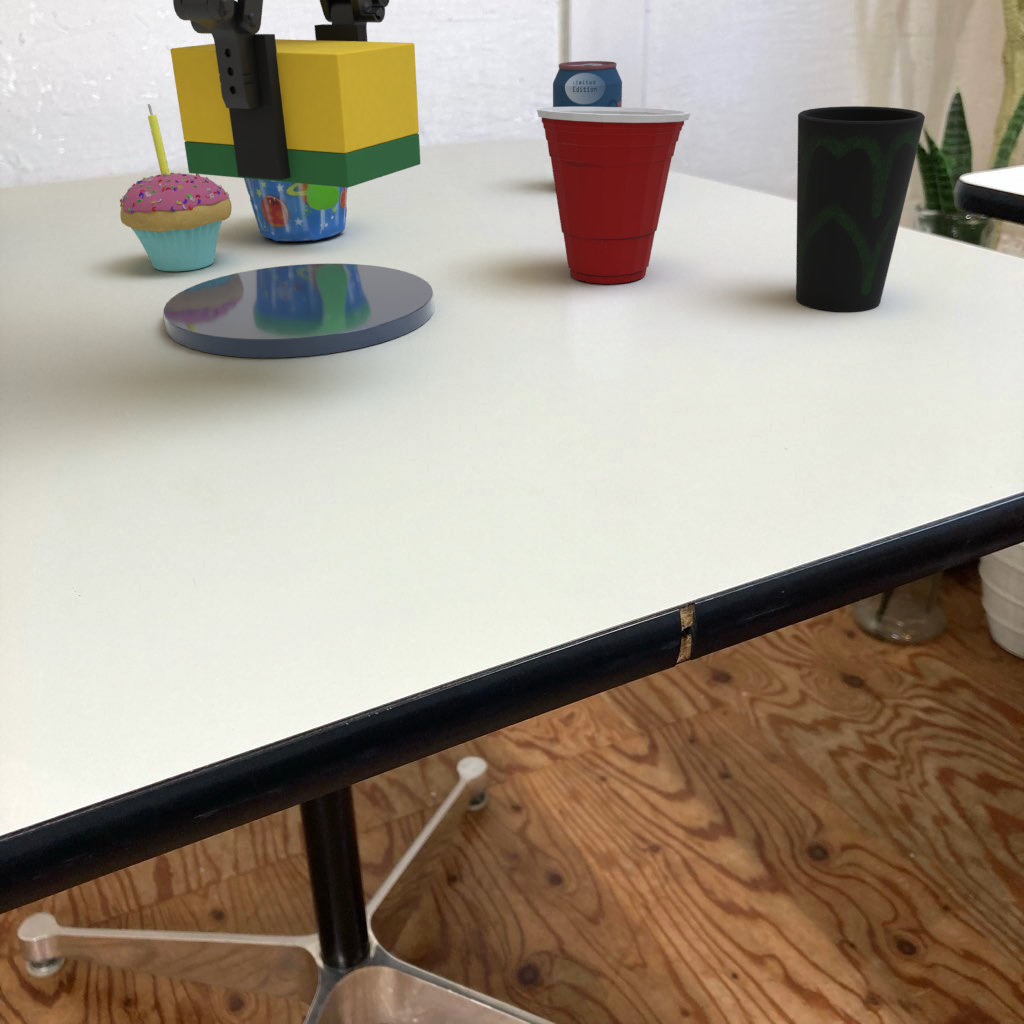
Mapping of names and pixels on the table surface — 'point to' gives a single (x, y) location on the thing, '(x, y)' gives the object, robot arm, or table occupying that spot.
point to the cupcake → (175, 214)
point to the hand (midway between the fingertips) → (309, 163)
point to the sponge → (312, 110)
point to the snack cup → (297, 209)
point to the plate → (298, 310)
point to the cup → (850, 201)
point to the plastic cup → (610, 184)
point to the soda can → (587, 85)
